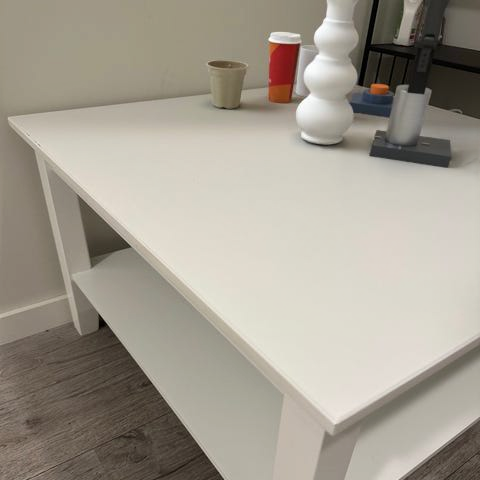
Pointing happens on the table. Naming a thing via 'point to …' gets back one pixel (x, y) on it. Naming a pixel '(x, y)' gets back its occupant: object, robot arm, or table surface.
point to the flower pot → (226, 82)
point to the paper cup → (282, 65)
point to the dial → (407, 116)
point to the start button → (379, 89)
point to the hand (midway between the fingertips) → (416, 84)
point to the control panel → (413, 150)
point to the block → (372, 103)
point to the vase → (330, 77)
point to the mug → (305, 59)
